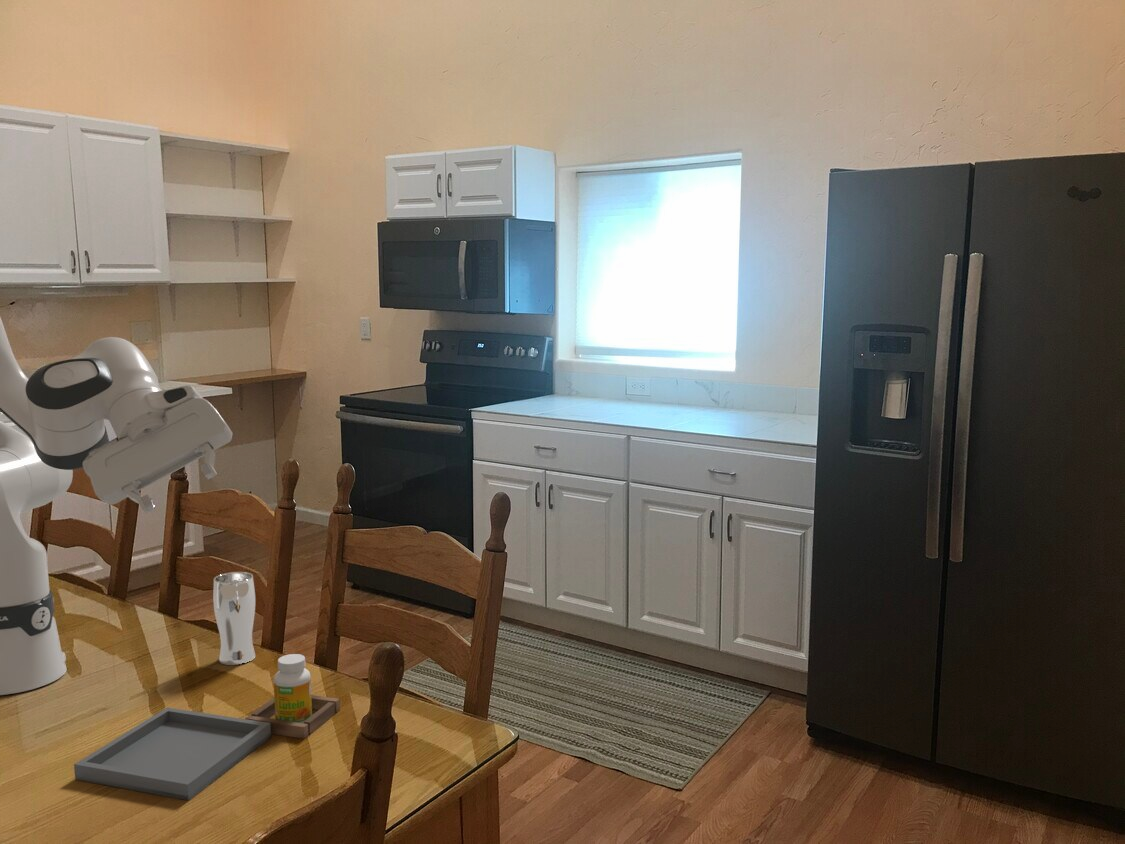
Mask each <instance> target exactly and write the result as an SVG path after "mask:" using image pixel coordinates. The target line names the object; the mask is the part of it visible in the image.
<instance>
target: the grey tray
mask: <svg viewBox="0 0 1125 844" xmlns="http://www.w3.org/2000/svg"><path fill="white" fill-rule="evenodd" d="M271 737H272V734H271V728H270V723H267V722H260V721H253V720H247V719H245V718H241V717H233V716H227V715H226V716H225V715H219V714H213V713H206V712H201V711H200V712H199V711H193V710H186V709H180V708H173V707H165V708H164V709H162V710H160V711H159V712H157V713H156V714H154V715H153V716H151V717H149V718H148V719H146V720H144V721H142V722H141V723H139V724H138V725H136V726H134V727H133V728H131V729H130V730H128V731H126V732H125V733H123V734H121V735H119V736H118V737H116V738H115V739H113V740H111V741H109V742H107V744H105V745H103V746H102V747H100V748H98V749H97V750H95V751H93V752H92V753H90V754H88V755H87V756H85V757H84V758H82V759H80V760H79V761H77V762H75V763H74V764H73V767H74V768H73V769H74V780H75V781H80V782H85V783H86V782H87V783H91V784H98V785H101V786H106V787H107V786H108V787H113V788H119V789H123V790H131V791H134V792H135V791H136V792H141V793H145V794H152V795H157V796H161V797H167V798H173V799H178V800H184V801H190V800H192V799H193V798H194V797H196V796H197V795H198V794H199V793H201V792H202V791H204V789H206V788H207V787H209V785H211V784H212V783H214V782H215V781H216V780H217V779H219V778H220V777H221V776H223V775H224V774H225V773H226V772H228V771H229V770H230V769H232V768H234V767H235V765H237V764H238V763H240V762H241V761H242V760H244V759H245V758H246V757H247V756H249V755H251V754H252V753H253V752H254V751H255V750H256V749H258V748H259V747H260V746H262V745H263V744H264V743H266V742H267V741H268V740H270V739H271Z"/></svg>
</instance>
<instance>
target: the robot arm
mask: <svg viewBox="0 0 1125 844" xmlns="http://www.w3.org/2000/svg"><path fill="white" fill-rule="evenodd" d="M10 344H11V343H10V341H9V338H8V335H7V332H6V328H5V326H4V323H3V320H2V317H1V316H0V413H2V414H3V415H4V416H5V417H6V418H7V419H9V420H10V421H11V422H12V423H14V424H15V426H16V427H18V428H19V429H20V430H21V431H22V432H23V433H22V432H20V431H19V430H17V429H15V428H14V427H12V426H11V425H9V424H7V423H5V422H4V421H3V420H1V419H0V696H4V695H5V696H6V695H10V694H18V693H22V692H27V691H31V690H35V689H38V688H40V687H43V686H46V685H49V684H51V683H54V682H55V681H57V680H59V679H60V678H62V677H63V676H64V675H65V674H66V672H67V670H68V669H67V665H66V663H65V661H66V660H67V656H66V653H65V652H64V651H62V647H61V642H60V636H59V631H58V627H57V622H56V618H55V617H54V612H55V605H54V603H55V598H54V596H53V595H54V594H53V591H52V590H51V589H50V581H49V580H50V579H49V568H48V566H49V565H48V554H47V550H46V547H45V546H44V545H43V543H41V542H40V541H39V540H36V539H35V538H32V537H29V536H28V535H27V533H26V531H25V529H24V526H23V523H22V520H21V513H25V512H27V511H31V510H33V509H37V508H40V507H43V506H46V505H48V504H49V503H51V502H53V501H55V500H56V499H57V498H59V497H61V496H62V495H64V494H65V493H66V492H67V491H68V490H69V488H70V486H71V484H72V483H73V476H74V470H75V471H76V470H80V469H83V470H84V473H85V474H86V476H87V477H88V478H90V483H91V486H92V489H93V491H94V494H95V496H96V497H98V499H100V500H101V502H103V503H104V504H107V505H111V506H113V505H114V506H115V504H118V503H120V502H122V501H123V500H125V499H127V498H129V499H130V500H131V501H133V502H134V503H136V504H139V506H140V508H141V510H142V511H144V513H146V514H148V513H150V512H151V511H152V510H154V509H156V508H157V507H156V505H155V502H154V500H153V499H152V498H151V497H150V496H149V495H148V494H145V495H144V496H141V493H140V491H141V490H143V489H145V488H148V487H149V486H151V485H153V484H155V483H156V482H158V481H161V480H162V479H164V478H166V477H167V476H169V475H171V474H173V473H175V472H177V471H178V470H180V469H182V468H184V467H186V466H188V465H189V464H192V463H193V462H195V461H197V460H199V459H201V458H202V457H204V463H202V464H200V465H199V468H200V470H201V472H202V473H203V476H204V477H205V478H206V479H207V480H210V479H212V478H214V477H216V476H217V475H218V473H217V471H216V470H215V461H216V455H217V454H216V452H215V450H217V449H220V448H221V447H224V446H225V445H227V444H229V443H230V442H231V441H232V439H233V431H232V430H231V428H230V426H229V425H228V424H227V422H226V421H225V420H224V418H223V417H222V415H221V414H220V413H219V411H218V410H217V408H215V407H214V405H212V403H210V402H209V400H208V399H206V398H204V397H203V396H202V394H200V392H199V391H198V390H197V389H196V388H195V387H194V386H193V385H192V384H185V385H181V386H178V387H172V388H167V389H162V388H161V387H160V383H159V379H158V378H159V377H158V376H157V374H156V373H155V371H154V369H153V367H152V366H151V364H150V362H149V360H148V358H146V356H145V355H144V353H143V352H142V350H141V349H140V348H138V347H137V346H136V345H135V344H134V343H132V342H131V341H129V340H127V339H125V338H121V337H117V336H108V337H103V338H100V339H97V340H94V341H93V342H91V343H90V344H88V346H87V347H86V348H85V349H84V350H83V351H82V352H81V353H80V354H78V355H77V356H75V357H72V358H69V359H66V360H65V359H64V360H59V361H55V362H51V363H48V364H46V365H44V366H41V367H40V368H39V369H37V370H36V371H35V372H33V374H32V375H30V377H29V378H28V377H27V375H26V374H25V373H24V371H23V370H22V369H21V367H20V365H19V363H18V362H17V359H16V357H15V354H14V352H13V349H12V347H11V345H10ZM105 420H106V421H109V423H110V426H111V428H112V429H113V431H114V433H115V436H116V437H115V438H113V439H111V440H110V439H109V436H108V432H107V427H106V425H105Z"/></svg>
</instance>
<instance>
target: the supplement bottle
mask: <svg viewBox="0 0 1125 844" xmlns="http://www.w3.org/2000/svg"><path fill="white" fill-rule="evenodd" d="M277 669H278V671H277V672H276V673H275V675H274V677H273V694H274V695H273V696H274V697H273V698H275V714H274V716H275V717H274V719H277V720H284V721H290V722H297V723H304V721H306V720H307V719H308V718H309V717H311V716H312V715H313V709H312V701H311V695H312V684H311V683H312V680H311V679H312V678H311V673H310V671H309V669H307V668H306V657H305V655H303V654H299V653H291V654H290V653H289V654H285V655H282V656H280V657H279V658H277Z"/></svg>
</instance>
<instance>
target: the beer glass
mask: <svg viewBox="0 0 1125 844" xmlns="http://www.w3.org/2000/svg"><path fill="white" fill-rule="evenodd" d="M212 596H213V598H212V600H213V611H214V617H215V620H216V625H217V630H218V632H219V639H220V651H219V657H218V658H219V659H218V661H219V663H220V664H222V665H226V666H238V665H239V664H240V665H243V664H242V663H245V664H247V662H248V663H250V662H252V661H254V660H255V658H256V652H255V648H254V644H253V643H254V642H253V630H254V621H255V614H256V592H255V582H254V575H253V573H250V572H249V571H248V572H247V571H231V572H225V573H220V574H219V575H216V576H215V577H213V595H212ZM249 661H250V662H249ZM240 665H239V666H240Z"/></svg>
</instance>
